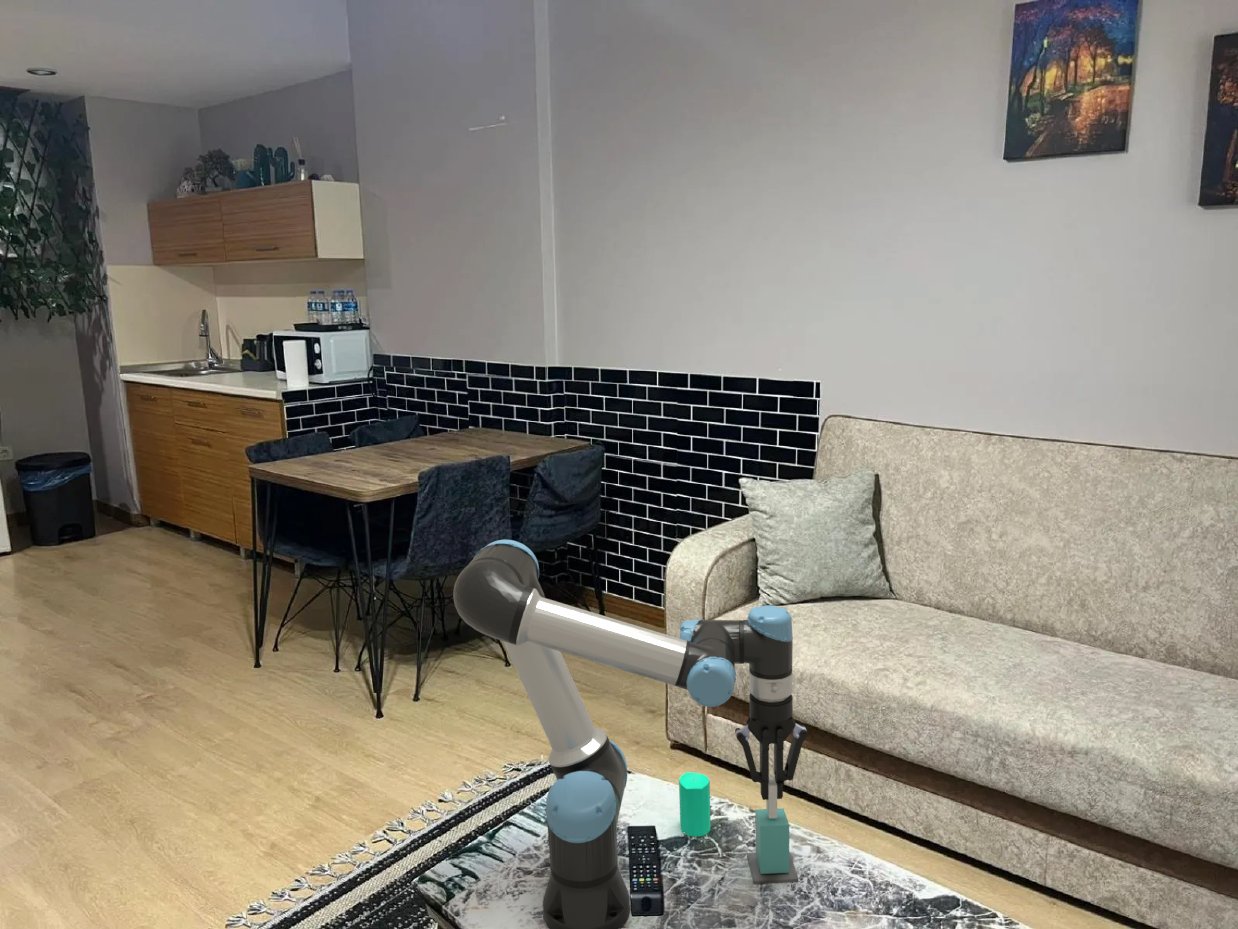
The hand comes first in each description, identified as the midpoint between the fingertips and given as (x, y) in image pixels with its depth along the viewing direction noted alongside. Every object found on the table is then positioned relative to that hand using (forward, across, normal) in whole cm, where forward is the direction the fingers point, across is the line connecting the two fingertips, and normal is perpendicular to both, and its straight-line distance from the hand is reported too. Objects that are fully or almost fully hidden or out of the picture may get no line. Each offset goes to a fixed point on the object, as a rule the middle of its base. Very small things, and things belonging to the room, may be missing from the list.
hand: (771, 813), depth 166 cm
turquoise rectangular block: (+10, 0, 0) cm, 10 cm away
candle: (+12, -13, +14) cm, 22 cm away
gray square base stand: (+11, 0, 0) cm, 11 cm away
